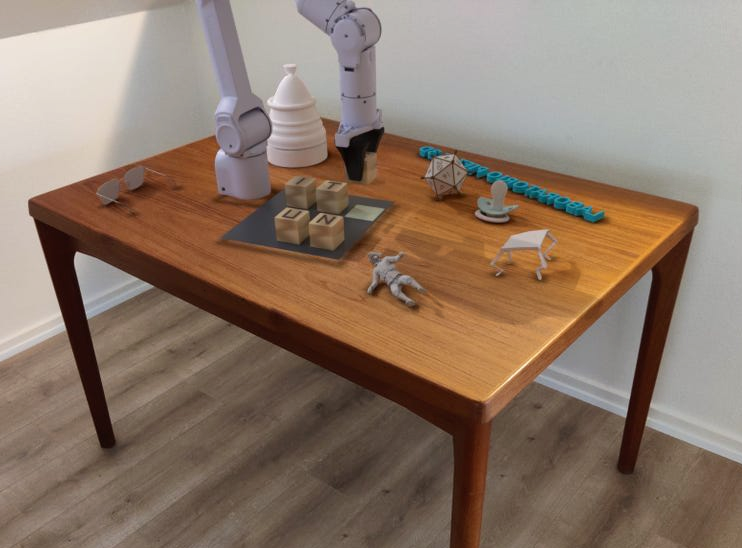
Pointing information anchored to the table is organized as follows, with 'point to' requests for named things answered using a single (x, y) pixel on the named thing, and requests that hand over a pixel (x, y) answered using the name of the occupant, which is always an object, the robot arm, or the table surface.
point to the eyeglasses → (111, 188)
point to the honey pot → (295, 125)
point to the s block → (366, 170)
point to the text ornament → (524, 188)
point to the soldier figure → (392, 276)
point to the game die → (446, 174)
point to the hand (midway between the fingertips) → (361, 175)
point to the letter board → (310, 219)
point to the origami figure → (527, 247)
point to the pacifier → (495, 204)
